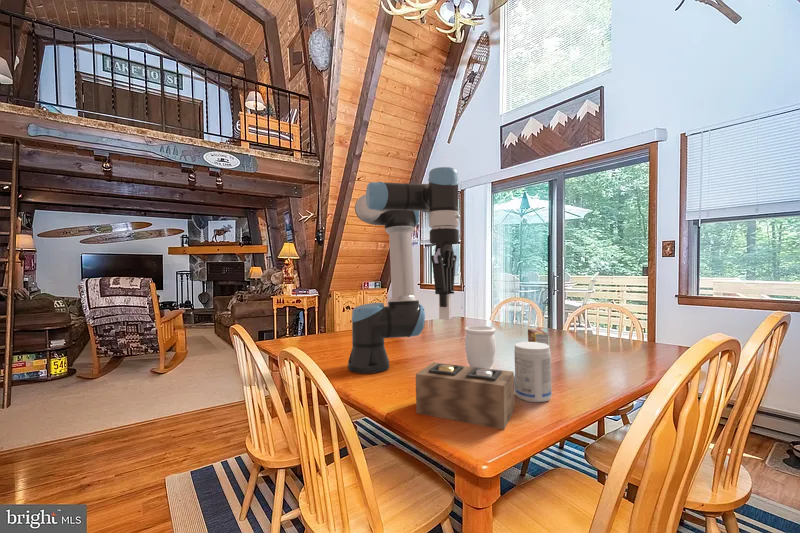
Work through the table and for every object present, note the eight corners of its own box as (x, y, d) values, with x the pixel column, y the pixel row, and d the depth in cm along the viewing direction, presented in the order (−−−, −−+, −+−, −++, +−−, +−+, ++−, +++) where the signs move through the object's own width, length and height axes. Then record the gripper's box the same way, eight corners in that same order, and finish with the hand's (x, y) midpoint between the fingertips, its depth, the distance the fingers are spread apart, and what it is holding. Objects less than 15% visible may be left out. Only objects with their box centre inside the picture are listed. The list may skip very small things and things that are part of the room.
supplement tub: (542, 390, 110) (541, 340, 110) (557, 402, 100) (557, 348, 100) (510, 391, 109) (509, 341, 109) (522, 404, 100) (521, 349, 100)
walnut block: (416, 413, 95) (415, 371, 95) (434, 397, 106) (433, 360, 106) (504, 429, 85) (503, 383, 85) (514, 410, 96) (513, 369, 95)
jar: (459, 369, 134) (459, 327, 133) (483, 365, 138) (482, 324, 138) (477, 377, 124) (477, 331, 124) (502, 372, 128) (501, 329, 128)
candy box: (527, 372, 128) (527, 328, 127) (540, 372, 127) (540, 328, 127) (535, 381, 119) (535, 333, 119) (549, 381, 118) (549, 333, 118)
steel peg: (474, 412, 92) (474, 372, 92) (479, 407, 96) (478, 368, 96) (490, 415, 90) (490, 374, 90) (494, 409, 94) (494, 370, 94)
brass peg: (436, 406, 97) (436, 367, 97) (442, 401, 100) (441, 364, 100) (451, 409, 95) (450, 369, 95) (456, 403, 98) (456, 365, 98)
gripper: (449, 226, 90) (450, 324, 90) (465, 229, 101) (466, 316, 102) (420, 227, 93) (421, 322, 93) (439, 230, 105) (440, 314, 105)
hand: (445, 319), depth 98 cm, fingers closed
